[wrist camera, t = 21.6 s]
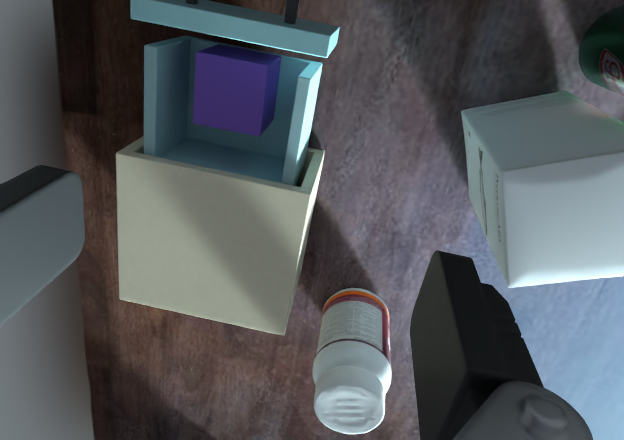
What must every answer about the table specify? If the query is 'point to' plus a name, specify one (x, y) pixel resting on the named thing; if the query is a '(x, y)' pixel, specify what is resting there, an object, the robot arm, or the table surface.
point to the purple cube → (235, 89)
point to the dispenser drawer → (181, 78)
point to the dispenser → (212, 238)
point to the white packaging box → (548, 187)
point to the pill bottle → (352, 362)
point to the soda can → (605, 51)
